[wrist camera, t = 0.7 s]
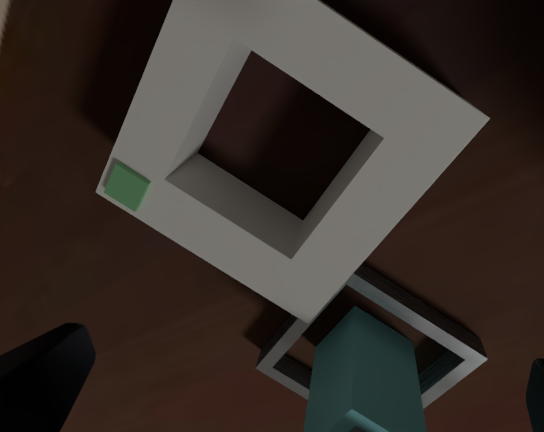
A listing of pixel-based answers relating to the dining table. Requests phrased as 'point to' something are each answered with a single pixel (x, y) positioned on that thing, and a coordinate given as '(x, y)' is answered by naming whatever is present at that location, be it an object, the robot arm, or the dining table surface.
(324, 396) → the plug
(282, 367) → the open square ring
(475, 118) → the frame
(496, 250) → the dining table surface
